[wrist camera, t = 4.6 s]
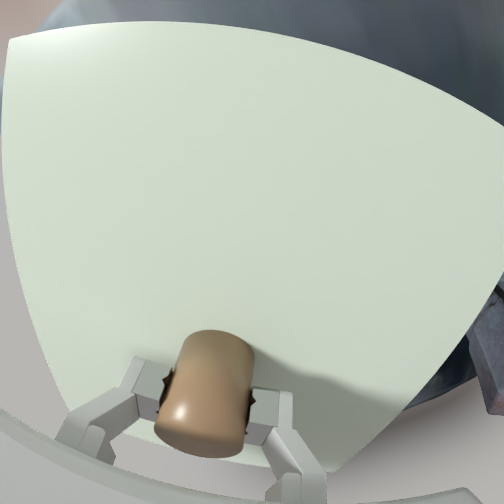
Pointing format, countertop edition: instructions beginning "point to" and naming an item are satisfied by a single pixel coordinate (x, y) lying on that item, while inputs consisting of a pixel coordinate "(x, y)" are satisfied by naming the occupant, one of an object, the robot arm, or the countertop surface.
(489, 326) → the moka pot
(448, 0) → the countertop surface
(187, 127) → the sage cover
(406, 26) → the countertop surface
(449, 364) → the countertop surface
